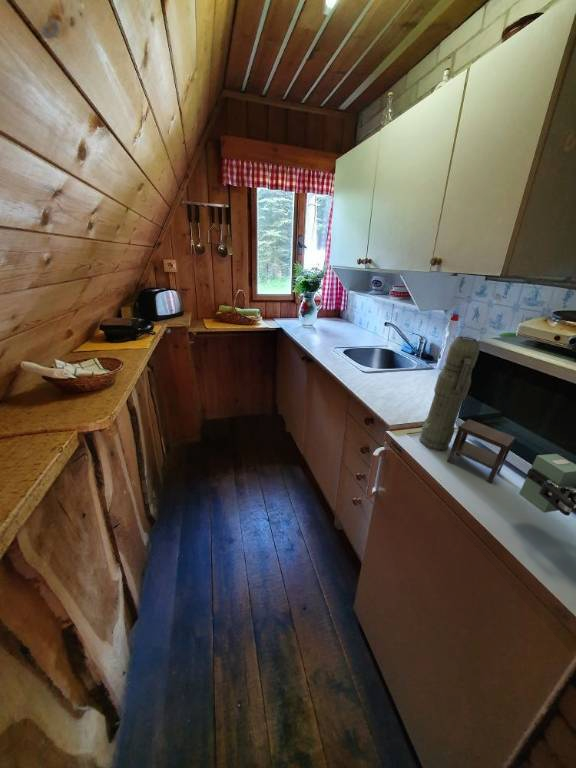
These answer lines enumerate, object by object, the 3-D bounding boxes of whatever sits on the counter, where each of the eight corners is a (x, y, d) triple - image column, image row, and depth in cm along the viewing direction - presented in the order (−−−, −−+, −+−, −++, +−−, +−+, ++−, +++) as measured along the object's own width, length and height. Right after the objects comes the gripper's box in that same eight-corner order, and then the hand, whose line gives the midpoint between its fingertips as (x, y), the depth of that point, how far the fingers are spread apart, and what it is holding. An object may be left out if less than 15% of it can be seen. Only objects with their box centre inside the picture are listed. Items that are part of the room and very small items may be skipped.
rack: (499, 472, 88) (515, 437, 84) (491, 483, 83) (507, 446, 78) (456, 452, 96) (468, 419, 91) (446, 461, 91) (459, 426, 86)
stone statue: (440, 435, 105) (473, 335, 92) (454, 455, 94) (494, 345, 81) (414, 432, 105) (443, 332, 93) (425, 451, 94) (461, 341, 82)
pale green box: (537, 491, 68) (556, 453, 64) (563, 509, 63) (585, 469, 59) (518, 493, 67) (537, 454, 63) (543, 512, 62) (565, 471, 58)
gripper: (681, 513, 50) (571, 453, 66) (623, 524, 47) (520, 458, 62) (657, 546, 53) (556, 481, 68) (600, 559, 49) (507, 488, 64)
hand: (540, 470), depth 65 cm, fingers closed on pale green box, 5 cm apart
